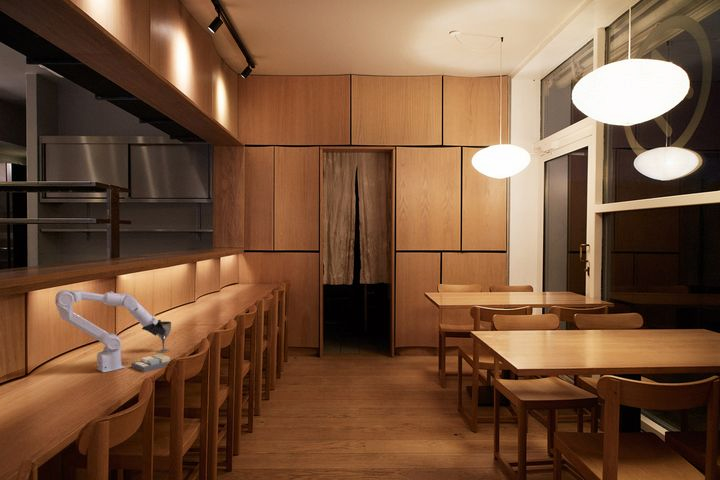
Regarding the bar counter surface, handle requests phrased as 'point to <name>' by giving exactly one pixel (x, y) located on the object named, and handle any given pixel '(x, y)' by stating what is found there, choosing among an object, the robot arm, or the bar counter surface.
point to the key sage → (157, 356)
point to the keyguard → (147, 366)
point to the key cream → (146, 359)
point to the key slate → (153, 361)
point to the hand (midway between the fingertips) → (160, 334)
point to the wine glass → (167, 329)
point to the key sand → (164, 359)
